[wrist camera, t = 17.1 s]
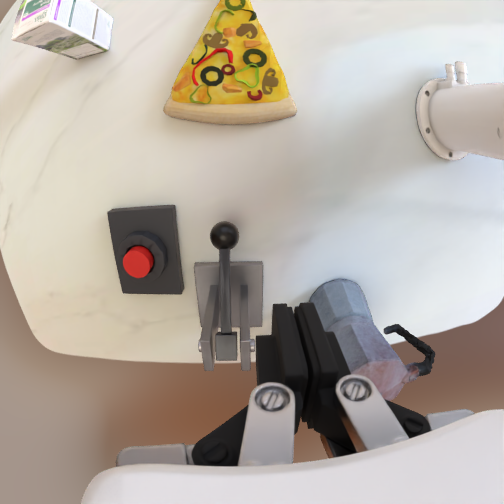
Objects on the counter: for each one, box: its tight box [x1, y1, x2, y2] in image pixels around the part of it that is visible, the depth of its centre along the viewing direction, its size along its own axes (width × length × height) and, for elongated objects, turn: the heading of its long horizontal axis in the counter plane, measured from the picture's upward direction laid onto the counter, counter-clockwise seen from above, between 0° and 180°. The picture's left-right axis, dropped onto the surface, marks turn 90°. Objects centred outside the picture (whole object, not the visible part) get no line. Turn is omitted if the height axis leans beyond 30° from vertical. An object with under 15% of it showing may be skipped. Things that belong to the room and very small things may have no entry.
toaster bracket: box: [194, 261, 263, 371], centre depth 33 cm, size 10×9×13 cm
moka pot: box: [309, 279, 435, 401], centre depth 31 cm, size 10×15×20 cm, turn 111°
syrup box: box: [12, 0, 113, 59], centre depth 18 cm, size 6×6×14 cm
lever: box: [210, 222, 239, 361], centre depth 30 cm, size 15×3×3 cm, turn 1°
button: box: [123, 246, 154, 278], centre depth 33 cm, size 4×4×2 cm
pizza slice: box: [163, 0, 297, 124], centre depth 25 cm, size 16×21×3 cm
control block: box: [108, 205, 184, 294], centre depth 35 cm, size 12×9×4 cm
